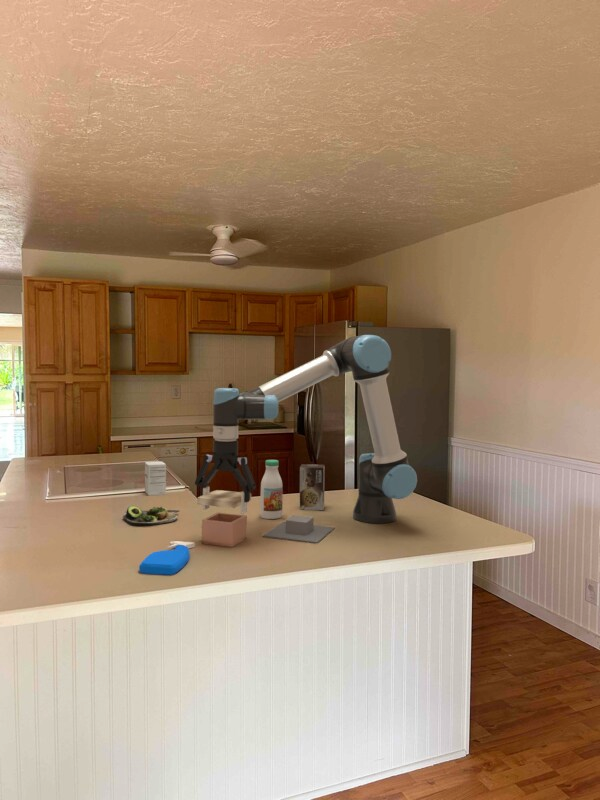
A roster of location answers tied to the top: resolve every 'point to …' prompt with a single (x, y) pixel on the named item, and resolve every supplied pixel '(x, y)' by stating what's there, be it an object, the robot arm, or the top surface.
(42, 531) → the top surface
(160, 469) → the supplement box
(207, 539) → the open box
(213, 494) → the lid
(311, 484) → the coffee box
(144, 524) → the salad plate
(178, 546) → the spray bottle
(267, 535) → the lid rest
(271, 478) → the milk bottle
